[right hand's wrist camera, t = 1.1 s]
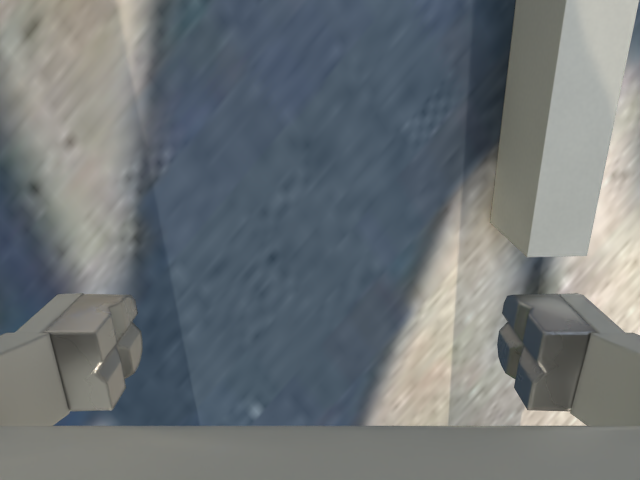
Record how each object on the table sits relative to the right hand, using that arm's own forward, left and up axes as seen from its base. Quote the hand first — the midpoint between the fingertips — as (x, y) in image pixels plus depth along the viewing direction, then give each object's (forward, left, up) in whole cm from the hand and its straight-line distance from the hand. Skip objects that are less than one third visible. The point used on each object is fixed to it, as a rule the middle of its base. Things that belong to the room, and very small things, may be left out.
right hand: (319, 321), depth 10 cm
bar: (-2, +20, -37) cm, 42 cm away
